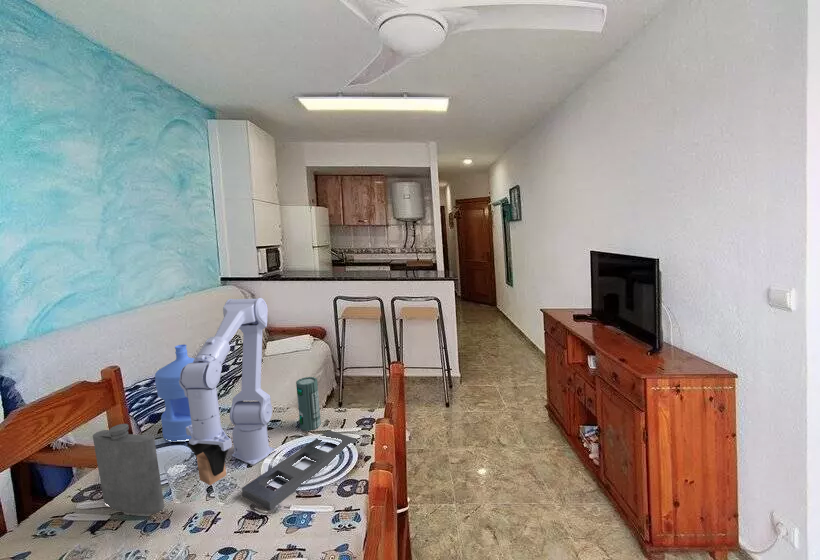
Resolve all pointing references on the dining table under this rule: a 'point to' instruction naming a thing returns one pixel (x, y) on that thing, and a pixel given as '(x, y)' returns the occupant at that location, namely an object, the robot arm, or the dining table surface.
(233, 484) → the dining table surface
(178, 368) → the water jug
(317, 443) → the grey flat perforated plate
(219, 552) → the dining table surface
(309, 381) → the can
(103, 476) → the hip flask
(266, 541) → the dining table surface
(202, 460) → the square block
